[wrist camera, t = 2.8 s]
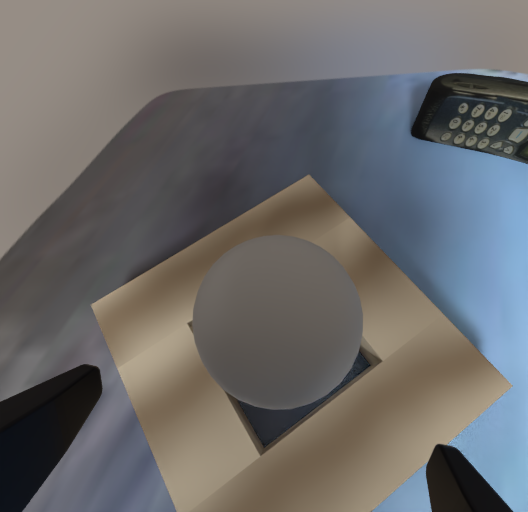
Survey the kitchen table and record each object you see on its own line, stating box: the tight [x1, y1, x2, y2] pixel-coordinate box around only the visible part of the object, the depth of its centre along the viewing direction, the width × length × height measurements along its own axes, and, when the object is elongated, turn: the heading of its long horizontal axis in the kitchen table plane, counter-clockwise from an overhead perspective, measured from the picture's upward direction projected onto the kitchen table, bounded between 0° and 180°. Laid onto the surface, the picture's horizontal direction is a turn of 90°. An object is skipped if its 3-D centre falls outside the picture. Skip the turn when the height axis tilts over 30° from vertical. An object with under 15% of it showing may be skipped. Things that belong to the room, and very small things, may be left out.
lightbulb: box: [192, 235, 363, 410], centre depth 13 cm, size 6×6×11 cm
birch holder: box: [91, 175, 512, 512], centre depth 17 cm, size 16×16×2 cm
